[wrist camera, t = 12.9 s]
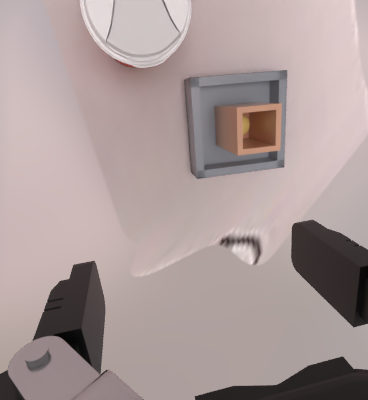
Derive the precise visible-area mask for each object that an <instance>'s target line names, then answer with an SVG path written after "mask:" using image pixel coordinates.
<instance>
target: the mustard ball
mask: <svg viewBox="0 0 368 400" xmlns="http://www.w3.org/2000/svg"><path fill="white" fill-rule="evenodd" d="M242 118H243V135H244V134H246V133H247V131H248V130H249V127H250V122H249V119H248V118H247V117H246V116H245V115H243V114H242Z"/></svg>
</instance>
